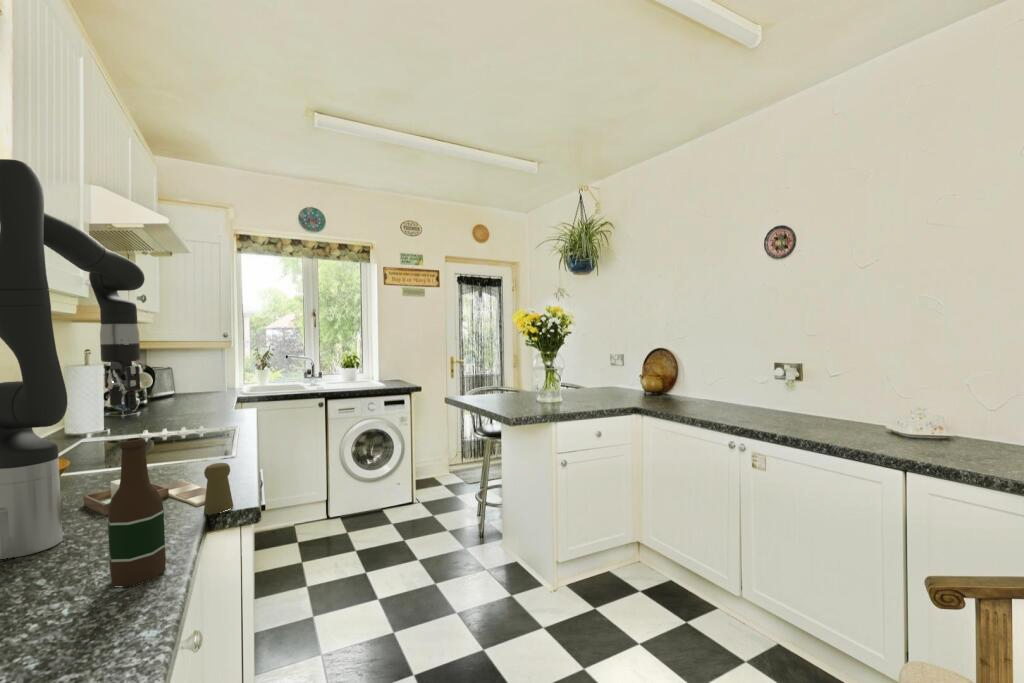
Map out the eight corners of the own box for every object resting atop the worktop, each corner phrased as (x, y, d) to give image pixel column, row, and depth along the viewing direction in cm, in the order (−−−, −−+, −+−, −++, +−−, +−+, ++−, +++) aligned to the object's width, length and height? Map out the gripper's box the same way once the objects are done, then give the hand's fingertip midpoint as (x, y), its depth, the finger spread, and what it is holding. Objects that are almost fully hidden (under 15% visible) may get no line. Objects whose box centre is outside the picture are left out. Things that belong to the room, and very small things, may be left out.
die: (118, 505, 113) (117, 484, 113) (111, 501, 116) (110, 481, 116) (143, 498, 118) (143, 478, 117) (136, 494, 120) (135, 475, 120)
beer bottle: (101, 593, 75) (94, 447, 74) (119, 571, 82) (113, 437, 81) (159, 582, 78) (153, 441, 77) (172, 561, 85) (166, 432, 84)
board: (197, 506, 112) (197, 503, 112) (152, 490, 125) (152, 487, 125) (227, 497, 118) (227, 494, 118) (181, 482, 131) (181, 480, 131)
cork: (209, 516, 106) (207, 469, 105) (199, 511, 109) (197, 465, 109) (238, 508, 111) (236, 462, 110) (227, 503, 114) (225, 459, 114)
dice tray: (104, 515, 108) (104, 505, 108) (83, 505, 115) (83, 495, 114) (168, 497, 119) (168, 488, 119) (146, 489, 126) (146, 480, 126)
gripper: (89, 343, 116) (92, 407, 117) (113, 342, 109) (116, 411, 109) (126, 342, 123) (129, 402, 123) (150, 341, 115) (153, 406, 116)
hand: (123, 406), depth 116 cm, fingers open, 8 cm apart
